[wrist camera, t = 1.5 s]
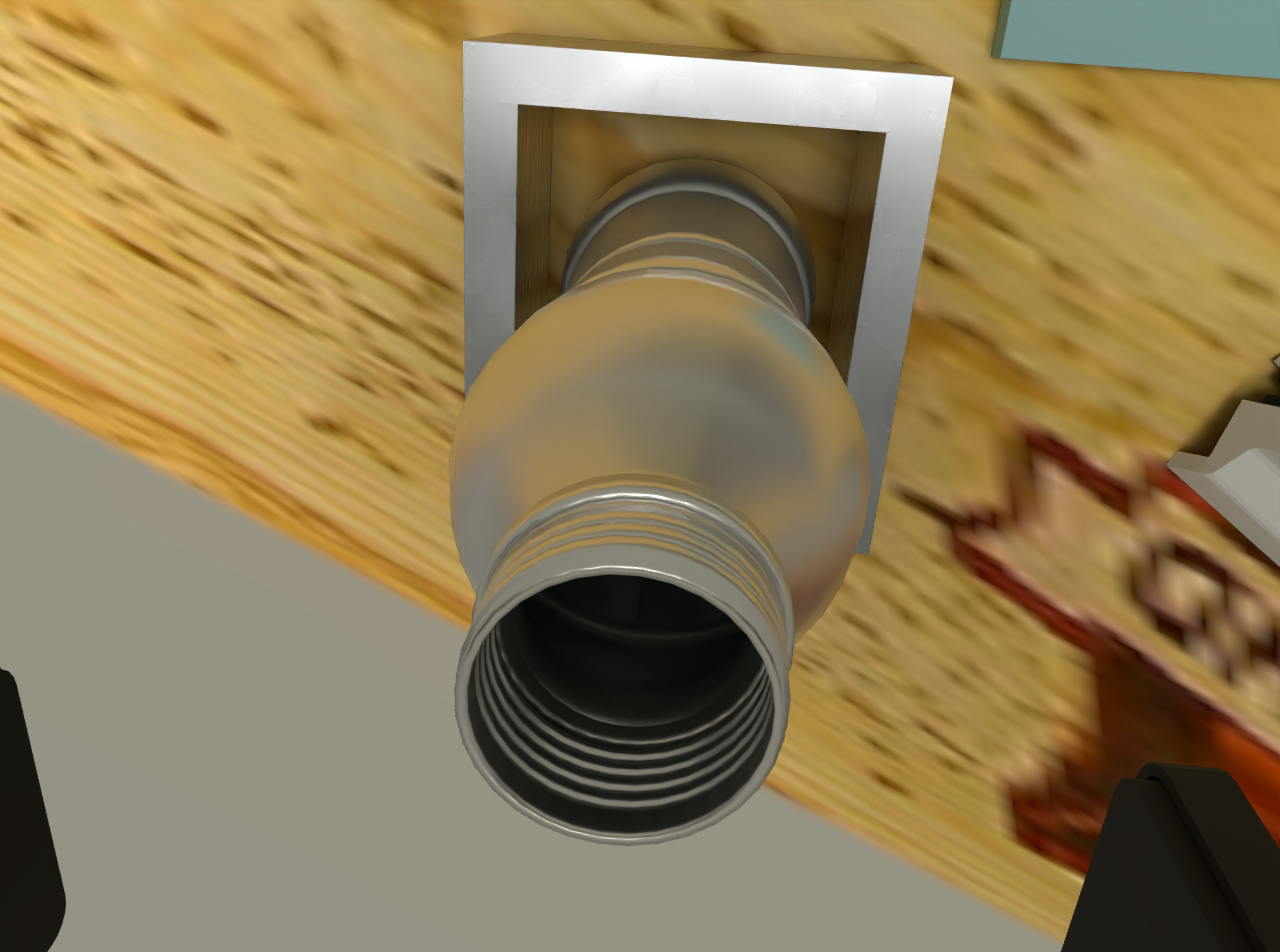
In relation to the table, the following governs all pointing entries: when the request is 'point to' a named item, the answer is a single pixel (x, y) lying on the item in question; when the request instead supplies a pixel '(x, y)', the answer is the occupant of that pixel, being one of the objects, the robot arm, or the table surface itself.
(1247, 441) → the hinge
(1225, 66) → the board
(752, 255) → the plastic bottle
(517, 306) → the square socket
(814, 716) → the table surface
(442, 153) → the table surface
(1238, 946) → the robot arm
